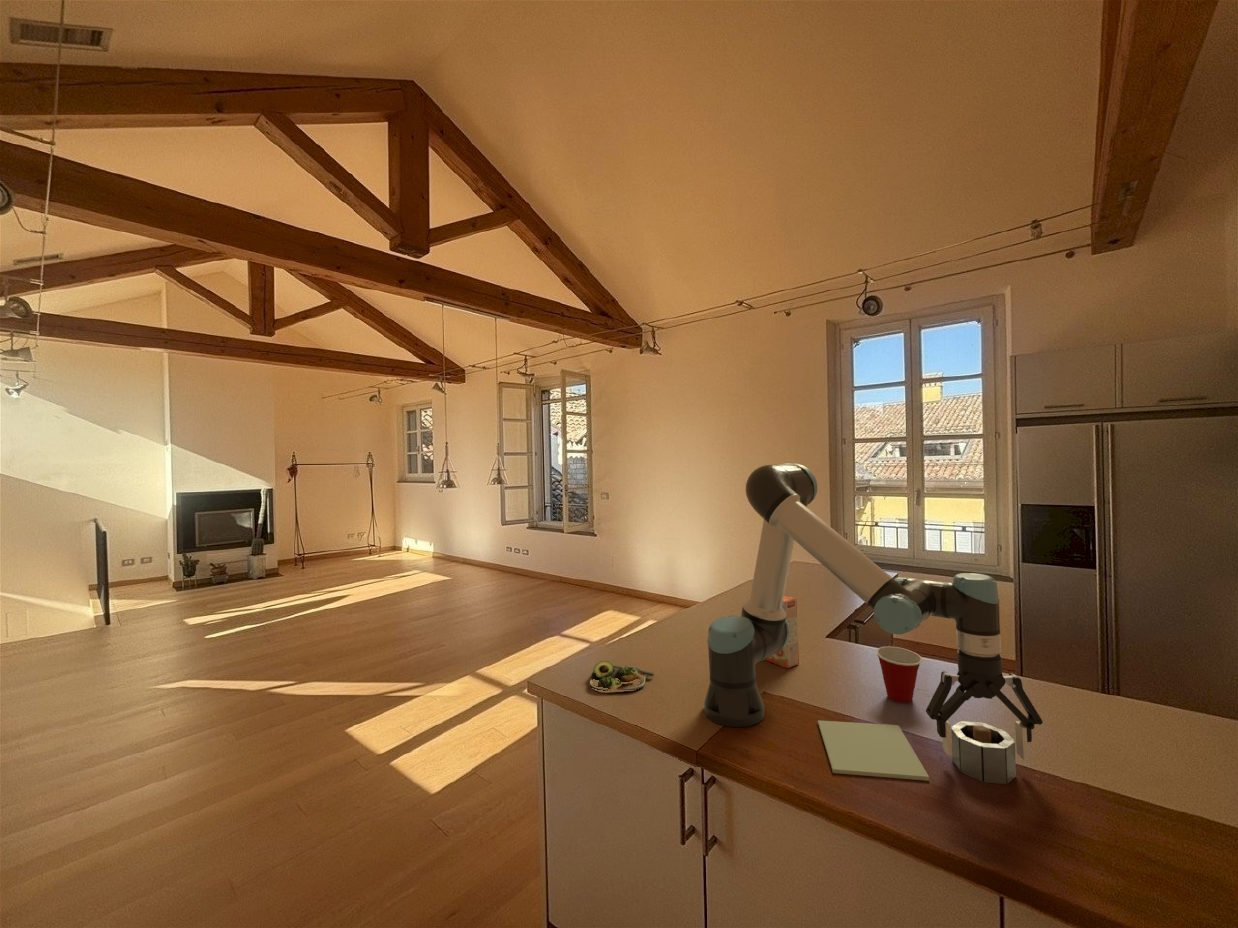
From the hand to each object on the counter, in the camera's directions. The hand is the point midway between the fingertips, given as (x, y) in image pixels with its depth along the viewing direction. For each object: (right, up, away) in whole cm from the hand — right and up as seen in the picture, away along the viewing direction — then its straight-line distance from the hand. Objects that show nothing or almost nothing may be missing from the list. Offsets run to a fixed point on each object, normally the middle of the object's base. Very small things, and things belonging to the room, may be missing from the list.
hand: (984, 754), depth 107 cm
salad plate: (-76, -6, +50) cm, 91 cm away
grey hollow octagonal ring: (0, -3, 0) cm, 3 cm away
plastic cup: (0, -3, +31) cm, 31 cm away
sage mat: (-20, -4, +9) cm, 22 cm away
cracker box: (-25, -4, +60) cm, 65 cm away
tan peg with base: (0, -3, 0) cm, 3 cm away
